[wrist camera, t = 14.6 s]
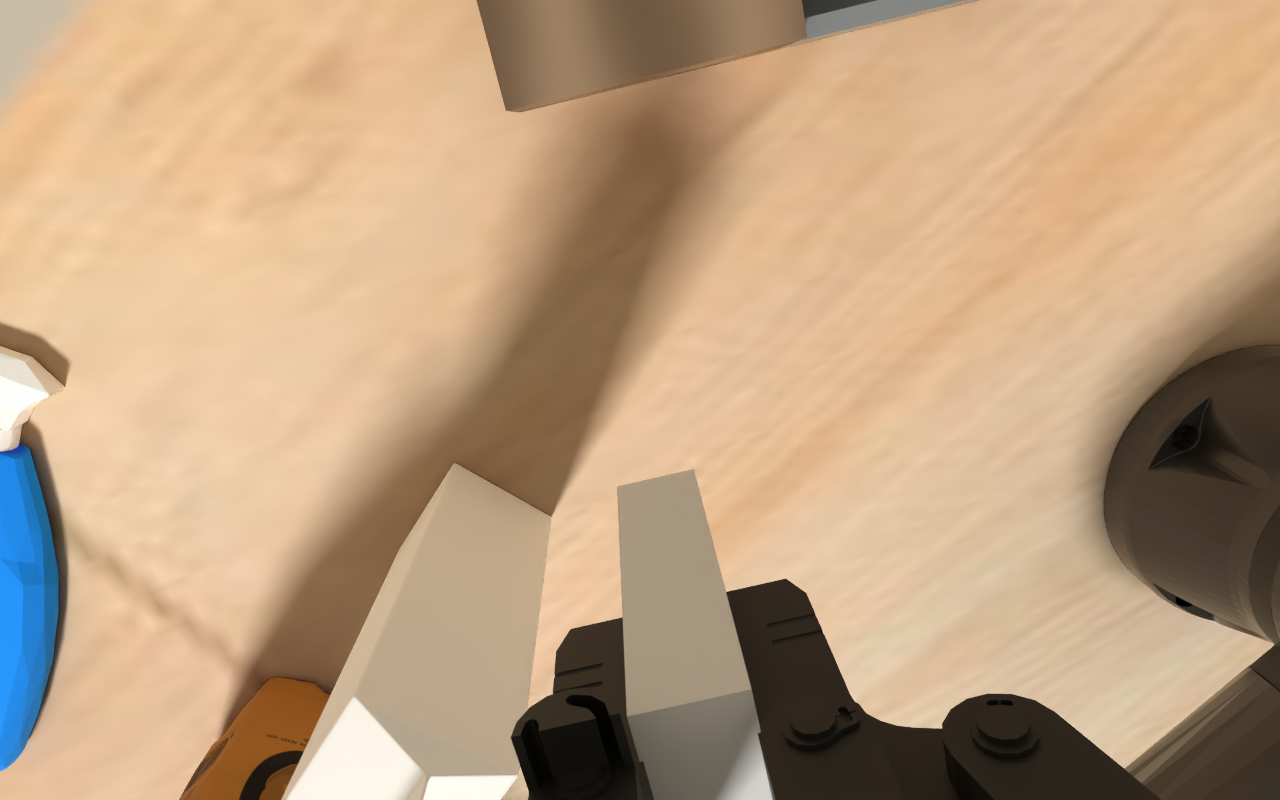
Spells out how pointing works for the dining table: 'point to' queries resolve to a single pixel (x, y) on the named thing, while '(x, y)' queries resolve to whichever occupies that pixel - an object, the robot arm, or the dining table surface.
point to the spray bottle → (23, 559)
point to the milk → (438, 659)
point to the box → (861, 14)
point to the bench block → (623, 41)
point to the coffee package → (260, 744)
